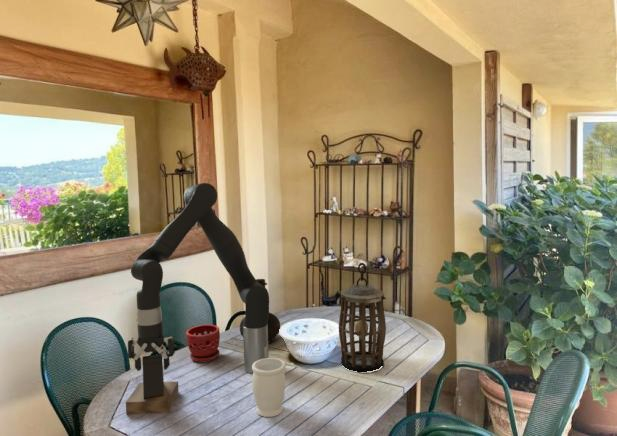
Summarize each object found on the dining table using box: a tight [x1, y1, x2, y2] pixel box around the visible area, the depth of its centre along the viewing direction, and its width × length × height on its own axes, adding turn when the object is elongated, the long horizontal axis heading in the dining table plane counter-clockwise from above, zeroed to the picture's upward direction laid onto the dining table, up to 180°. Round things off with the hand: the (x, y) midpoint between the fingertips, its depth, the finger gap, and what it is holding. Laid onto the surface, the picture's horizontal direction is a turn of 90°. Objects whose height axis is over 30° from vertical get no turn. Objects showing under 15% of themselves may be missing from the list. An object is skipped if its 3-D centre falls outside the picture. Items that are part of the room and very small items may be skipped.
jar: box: [251, 357, 286, 418], centre depth 140 cm, size 11×10×15 cm
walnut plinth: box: [125, 381, 180, 415], centre depth 146 cm, size 13×13×4 cm
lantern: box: [338, 262, 387, 372], centre depth 172 cm, size 19×19×40 cm
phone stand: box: [141, 353, 165, 399], centre depth 145 cm, size 9×6×12 cm, turn 17°
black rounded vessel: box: [239, 278, 281, 344], centre depth 198 cm, size 18×18×28 cm
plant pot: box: [185, 324, 221, 363], centre depth 181 cm, size 13×13×12 cm
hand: (152, 369), depth 145 cm, fingers open, 8 cm apart
